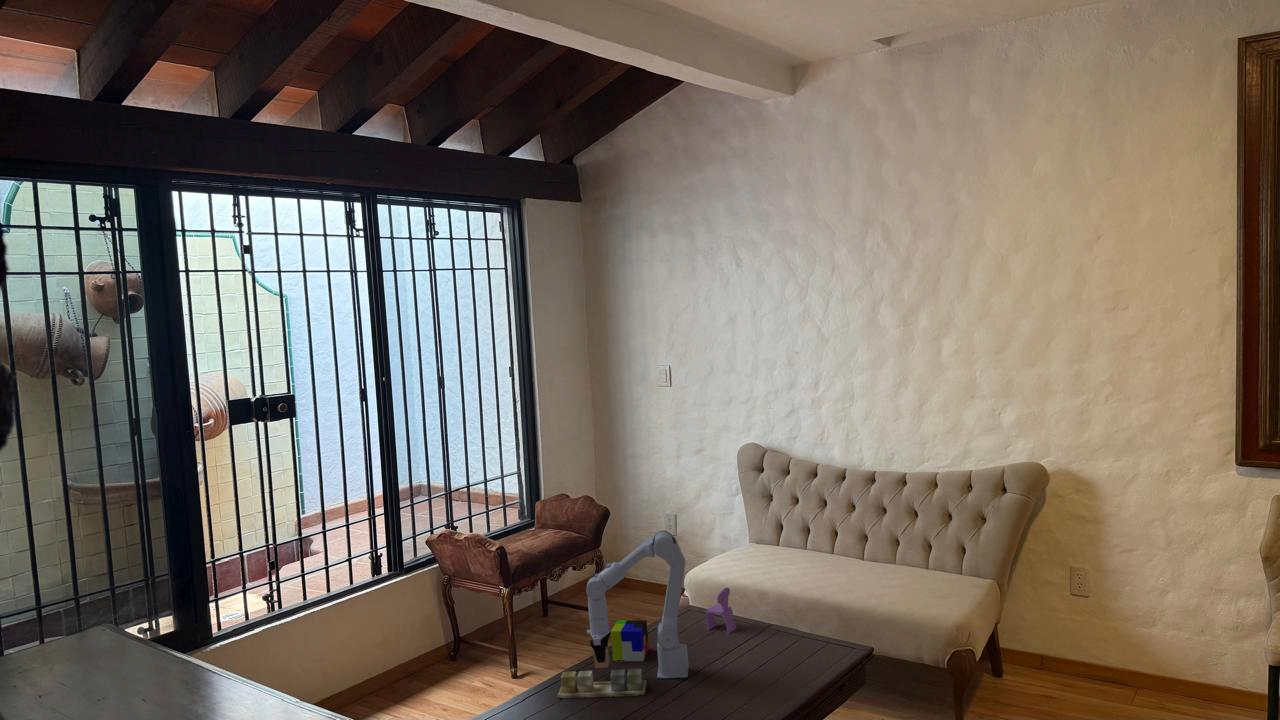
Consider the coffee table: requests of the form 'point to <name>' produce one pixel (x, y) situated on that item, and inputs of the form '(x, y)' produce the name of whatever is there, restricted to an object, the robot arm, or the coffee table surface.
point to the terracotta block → (603, 664)
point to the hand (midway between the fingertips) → (602, 659)
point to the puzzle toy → (629, 640)
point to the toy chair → (721, 611)
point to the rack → (602, 684)
